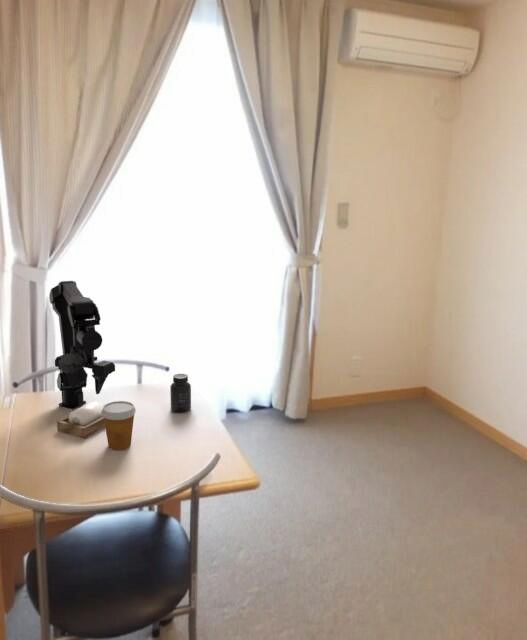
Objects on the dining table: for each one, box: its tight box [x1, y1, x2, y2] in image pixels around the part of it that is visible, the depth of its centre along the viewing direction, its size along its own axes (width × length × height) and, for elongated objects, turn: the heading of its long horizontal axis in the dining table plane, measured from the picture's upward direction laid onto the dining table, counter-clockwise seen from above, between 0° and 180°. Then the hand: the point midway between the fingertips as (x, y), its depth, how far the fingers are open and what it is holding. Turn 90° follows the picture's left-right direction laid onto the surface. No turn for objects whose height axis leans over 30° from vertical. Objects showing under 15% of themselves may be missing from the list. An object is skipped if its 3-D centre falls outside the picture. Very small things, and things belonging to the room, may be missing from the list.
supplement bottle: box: [169, 373, 192, 414], centre depth 186 cm, size 7×7×12 cm
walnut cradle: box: [56, 415, 105, 440], centre depth 172 cm, size 10×14×3 cm
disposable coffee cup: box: [101, 400, 137, 451], centre depth 160 cm, size 10×10×12 cm
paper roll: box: [68, 400, 103, 427], centre depth 172 cm, size 10×6×6 cm, turn 156°
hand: (85, 391), depth 170 cm, fingers open, 9 cm apart
